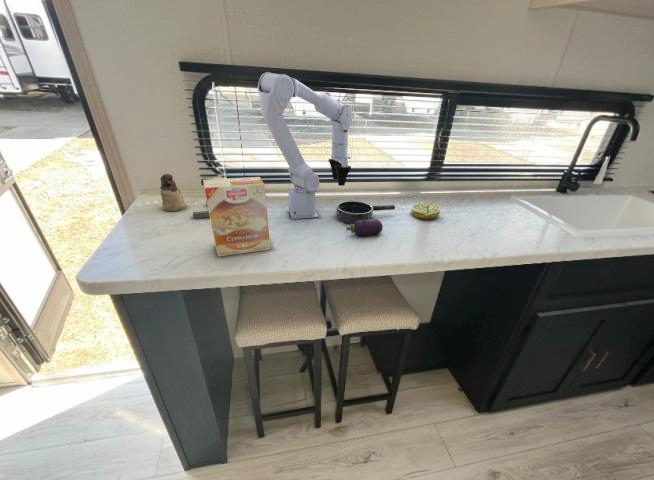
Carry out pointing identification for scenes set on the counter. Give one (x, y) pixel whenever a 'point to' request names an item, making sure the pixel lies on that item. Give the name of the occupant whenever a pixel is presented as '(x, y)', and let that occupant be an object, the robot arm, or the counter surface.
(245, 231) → the coffeecake box
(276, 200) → the counter surface
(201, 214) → the door handle
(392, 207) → the pan handle
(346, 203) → the pan
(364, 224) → the eggplant
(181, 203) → the figurine
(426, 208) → the decorated donut
